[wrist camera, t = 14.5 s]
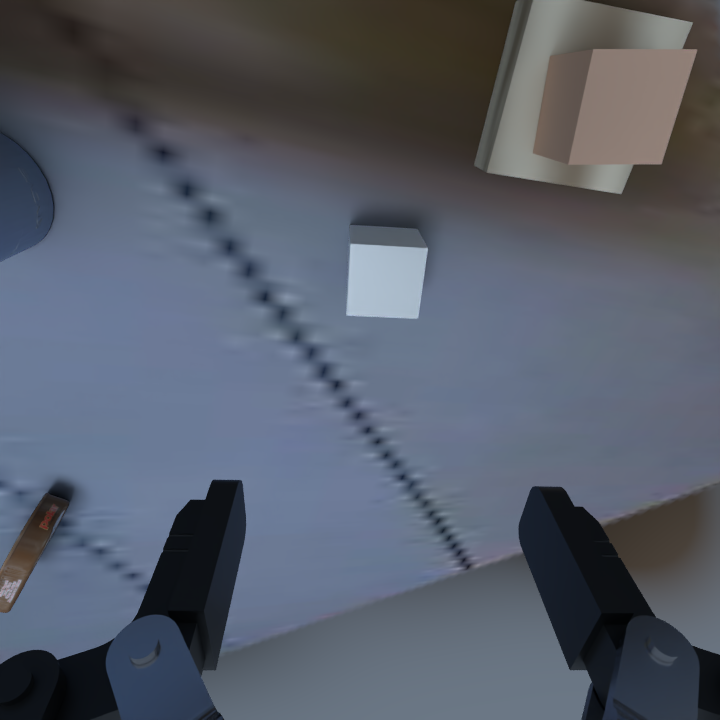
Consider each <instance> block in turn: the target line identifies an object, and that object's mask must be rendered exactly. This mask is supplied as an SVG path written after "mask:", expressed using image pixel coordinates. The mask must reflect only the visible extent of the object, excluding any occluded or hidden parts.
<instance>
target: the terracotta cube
mask: <svg viewBox="0 0 720 720" xmlns="http://www.w3.org/2000/svg"><path fill="white" fill-rule="evenodd" d="M696 53H697V49H591V50H584V51H578V52H572V53H566V54H560V55H553V56H550V60H549V66H548V71H547V77H546V82H545V88H544V94H543V99H542V105H541V110H540V116H539V122H538V127H537V133H536V139H535V144H534V150H533V154H536V155H540V156H543V157H546V158H549V159H552V160H555V161H558V162H561V163H564V164H567V165H609V164H662V161H663V158H664V154H665V151H666V148H667V145H668V142H669V138H670V135H671V132H672V129H673V126H674V123H675V119H676V116H677V113H678V110H679V107H680V103H681V100H682V97H683V94H684V91H685V88H686V84H687V81H688V78H689V75H690V72H691V68H692V65H693V62H694V59H695V56H696Z"/></svg>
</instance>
